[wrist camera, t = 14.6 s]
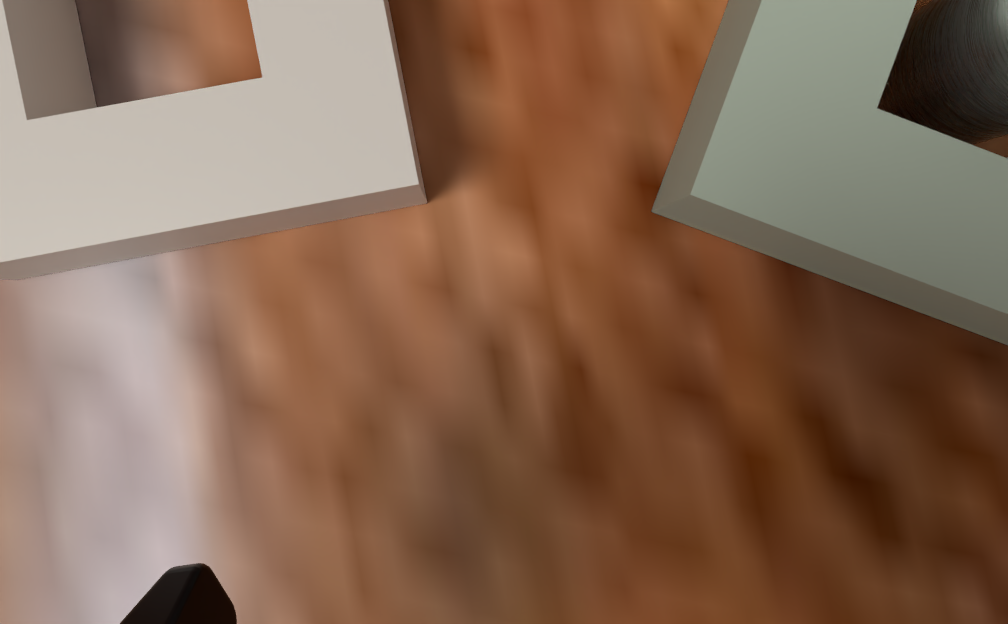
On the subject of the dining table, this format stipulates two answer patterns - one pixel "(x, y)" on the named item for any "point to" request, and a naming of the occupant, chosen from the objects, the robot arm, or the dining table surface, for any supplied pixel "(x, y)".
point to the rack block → (839, 163)
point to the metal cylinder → (953, 70)
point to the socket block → (198, 139)
